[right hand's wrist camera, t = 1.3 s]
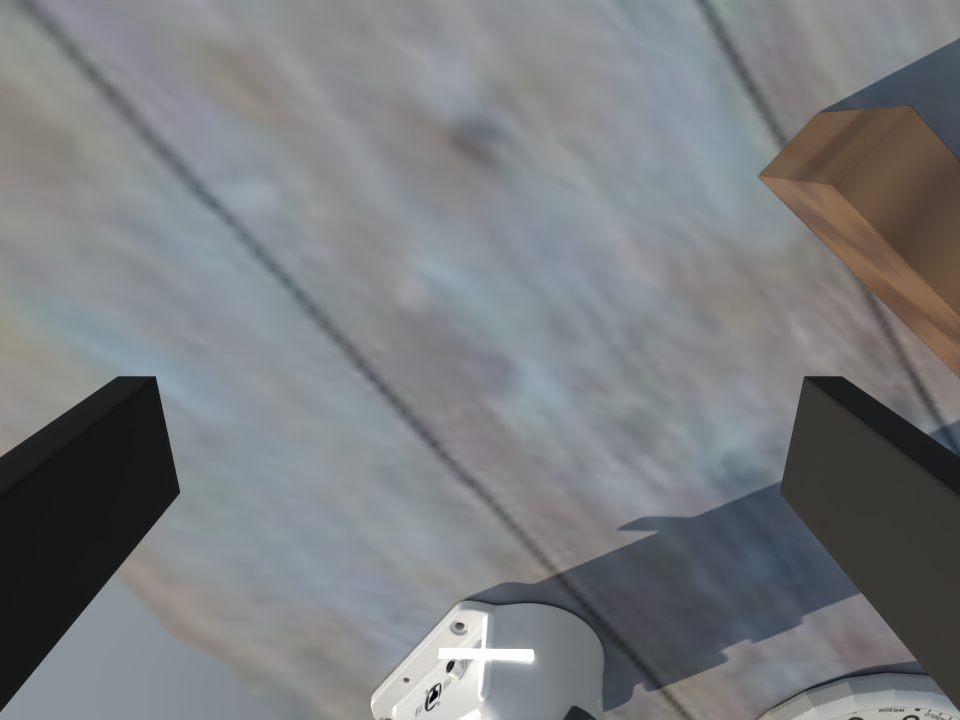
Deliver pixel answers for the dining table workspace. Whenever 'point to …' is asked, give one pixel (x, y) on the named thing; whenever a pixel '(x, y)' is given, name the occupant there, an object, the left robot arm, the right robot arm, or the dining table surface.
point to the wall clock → (870, 700)
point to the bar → (883, 211)
